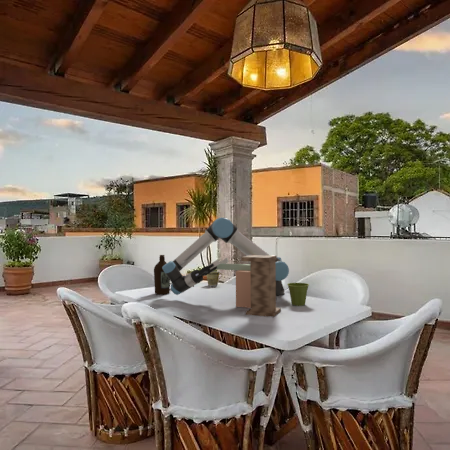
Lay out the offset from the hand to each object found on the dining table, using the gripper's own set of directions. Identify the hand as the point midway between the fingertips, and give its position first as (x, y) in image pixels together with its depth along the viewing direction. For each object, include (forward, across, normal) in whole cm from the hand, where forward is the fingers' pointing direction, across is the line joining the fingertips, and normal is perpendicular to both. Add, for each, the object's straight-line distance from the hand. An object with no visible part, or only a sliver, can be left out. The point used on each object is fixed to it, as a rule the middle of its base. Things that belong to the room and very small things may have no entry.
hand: (223, 260), depth 214 cm
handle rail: (+6, 0, -9) cm, 11 cm away
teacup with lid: (-54, -40, +4) cm, 68 cm away
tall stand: (+10, +16, -34) cm, 38 cm away
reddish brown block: (+3, 0, -29) cm, 29 cm away
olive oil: (-54, -15, +4) cm, 57 cm away
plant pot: (+23, -9, -41) cm, 48 cm away
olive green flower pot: (-38, -57, -6) cm, 69 cm away
